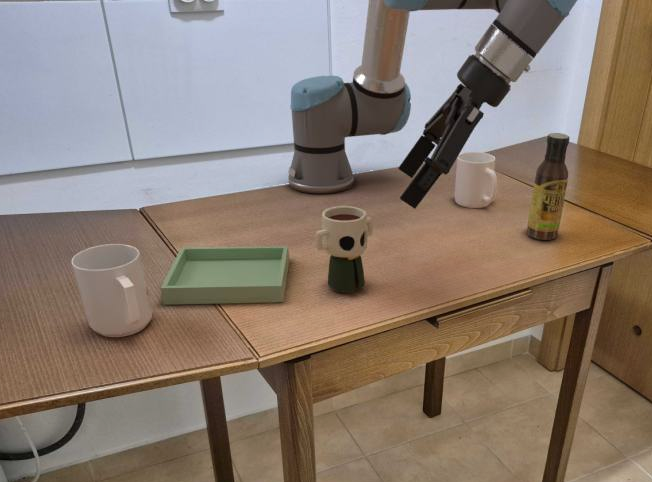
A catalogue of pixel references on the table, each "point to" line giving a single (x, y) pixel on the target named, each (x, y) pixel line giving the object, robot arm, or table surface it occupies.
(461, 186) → the cup
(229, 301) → the tray
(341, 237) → the character mug
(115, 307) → the mug
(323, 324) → the table surface
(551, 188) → the sauce bottle
